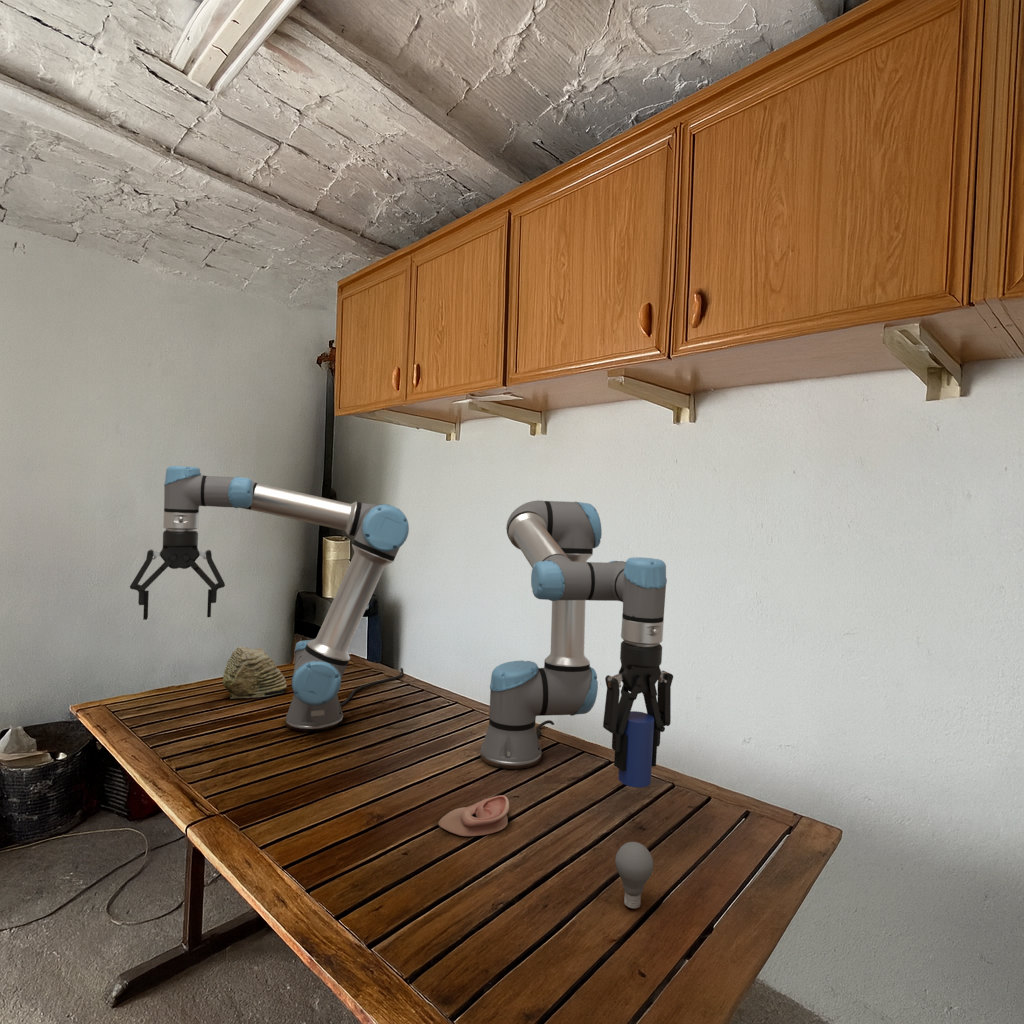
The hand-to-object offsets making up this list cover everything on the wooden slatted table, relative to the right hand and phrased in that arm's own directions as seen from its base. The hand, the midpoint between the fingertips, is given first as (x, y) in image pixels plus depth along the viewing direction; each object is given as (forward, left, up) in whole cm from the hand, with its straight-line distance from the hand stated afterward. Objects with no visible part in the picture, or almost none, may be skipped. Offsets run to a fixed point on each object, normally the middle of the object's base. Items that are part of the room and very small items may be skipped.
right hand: (635, 765), depth 117 cm
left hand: (+60, -93, +16) cm, 112 cm away
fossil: (+31, -127, -16) cm, 132 cm away
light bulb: (+12, +11, -16) cm, 23 cm away
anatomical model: (+18, -25, -16) cm, 35 cm away
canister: (0, 0, -3) cm, 3 cm away
